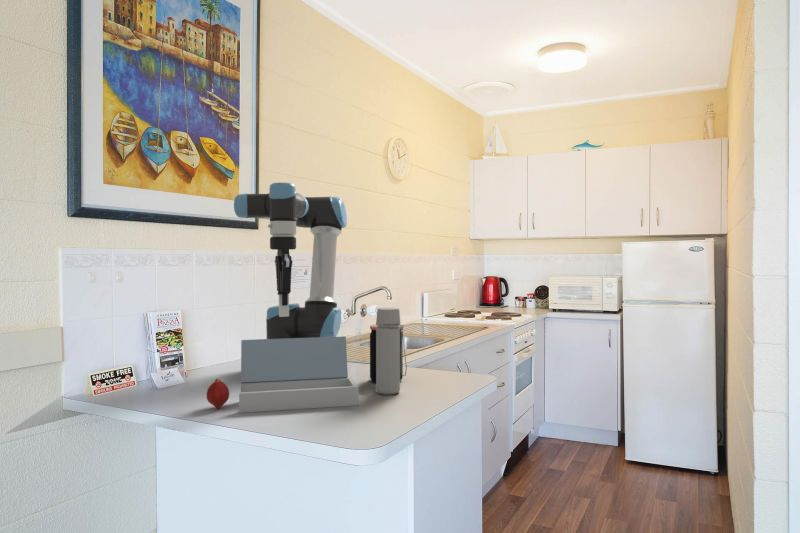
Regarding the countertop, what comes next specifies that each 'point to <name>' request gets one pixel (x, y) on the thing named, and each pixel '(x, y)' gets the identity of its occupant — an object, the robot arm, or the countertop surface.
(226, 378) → the countertop surface
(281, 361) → the cover
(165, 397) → the countertop surface
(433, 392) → the countertop surface
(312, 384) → the grey tray
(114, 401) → the countertop surface
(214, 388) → the onion
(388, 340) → the water bottle
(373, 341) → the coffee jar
